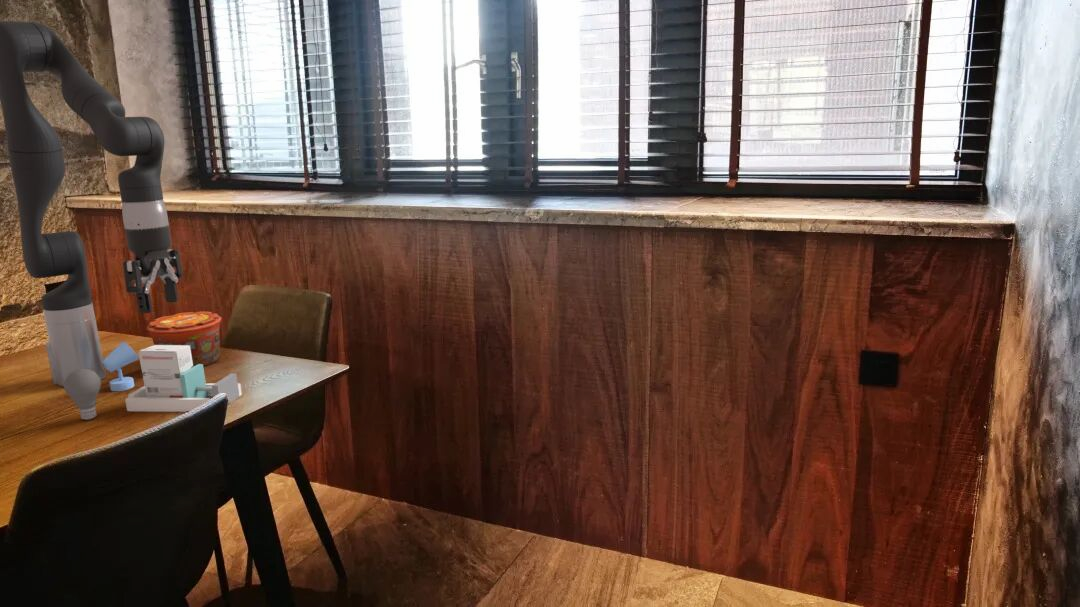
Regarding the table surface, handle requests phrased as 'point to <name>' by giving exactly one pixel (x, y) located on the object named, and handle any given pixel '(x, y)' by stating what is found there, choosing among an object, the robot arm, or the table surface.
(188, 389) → the pusher
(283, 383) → the table surface
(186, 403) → the light grey piece
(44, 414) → the table surface
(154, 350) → the ink box
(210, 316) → the food container
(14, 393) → the table surface
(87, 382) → the light bulb
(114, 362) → the spotlight
